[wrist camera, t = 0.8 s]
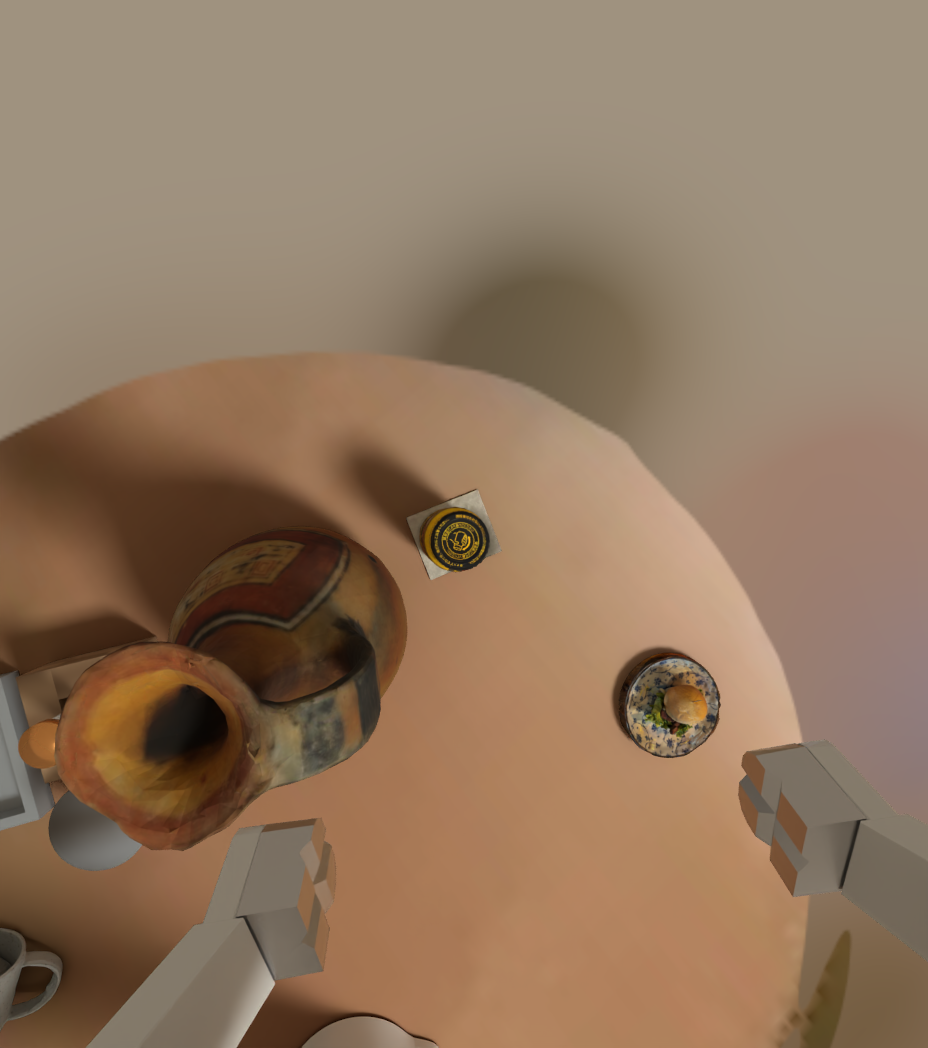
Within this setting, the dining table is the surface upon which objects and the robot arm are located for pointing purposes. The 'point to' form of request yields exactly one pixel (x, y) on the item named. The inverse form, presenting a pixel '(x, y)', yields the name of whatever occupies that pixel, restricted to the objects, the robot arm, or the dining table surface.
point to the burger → (669, 705)
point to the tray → (18, 763)
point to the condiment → (454, 535)
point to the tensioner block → (72, 823)
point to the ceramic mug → (3, 961)
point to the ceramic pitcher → (237, 688)
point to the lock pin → (39, 744)
